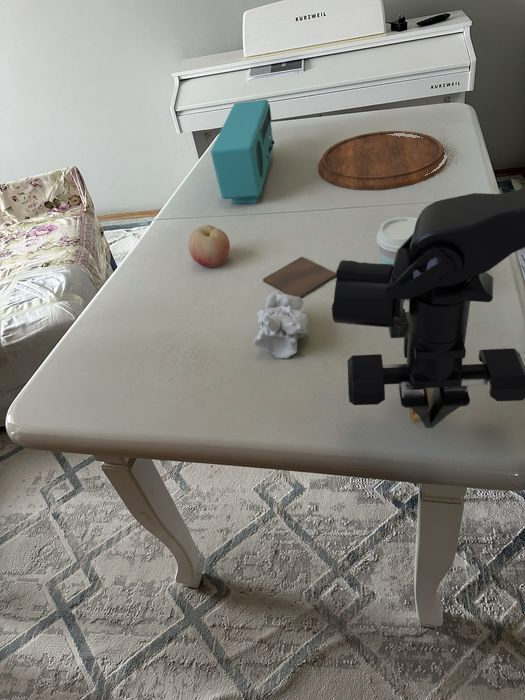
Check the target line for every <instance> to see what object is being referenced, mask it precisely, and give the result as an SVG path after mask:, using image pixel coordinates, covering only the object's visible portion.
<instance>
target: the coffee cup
mask: <svg viewBox="0 0 525 700" xmlns="http://www.w3.org/2000/svg"><path fill="white" fill-rule="evenodd" d="M417 219H418V217H413V216H398V217H393V218H390V219H388V220H386V221H384V222H382V224H381V225H380V226H379V230H378V231H377V234H376V239H375V241H376V245H378V250H379V256H380V257H379V258H380V264H393V265H394V261H395V257H396V254H397V250H398V249H399V248H400V247H401V246H402V245H403V244H404V243H405V242H406V241H407V240H408V238H409V237H410V236H411V235H412V234H413V233H414V229H415V224H416V221H417Z"/></svg>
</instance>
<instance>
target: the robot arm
mask: <svg viewBox="0 0 525 700" xmlns="http://www.w3.org/2000/svg"><path fill="white" fill-rule="evenodd" d="M417 218H418V219H417V221H416V224H415V229H414V233H413V234H412V235H411V236H410V237H409V238H408V240H407V241H406V242H405V243H404V244H403V245H402V246H401V247H400V248H399V249H398V250H397V254H396V257H395V261H394V265H393V264H381V263H376V262H373V263H372V262H359V261H355V260H347V259H342V260H340V261H339V263H338V265H337V268H336V271H335V273H336V277H335V278H336V280H335V286H334V295H333V303H332V305H331V314H332V320H333V322H334V323H335V324H342V325H354V326H364V327H377V328H378V327H379V328H388V330H389V331H388V333H389V337H390V339H403V356H404V359H406V363H394V364H393V363H392V364H391V363H390V364H383V354H382V353H381V354H380V353H379V354H378V353H377V354H376V353H375V354H355V355H354V354H353V355H351V356H350V357H349V358H348V359H347V387H348V390H347V391H348V402H349V403H351V404H352V405H353V406H366V405H367V406H374V405H377V406H378V405H379V404H381V403H382V402H384V401H385V400H386V387H385V385H398V392H399V400H400V405H401V407H403V408H406V409H410V408H411V409H412V410H413V411H414V412H415V413H416V414H417V415H418V416H419V417H420V419H421V420H422V421H421V422H422V424H423V426H424V427H425V429H434V428H435V427H436V426H437V425H438V424H440V423H441V421H443V420H444V419H445V418H446V417H447V416H449V415H451V413H453V412H455V411H456V410H458V409H459V408H461V407H467V406H469V405H470V403H471V398H470V395H469V390H468V387H470V386H488V383H489V386H490V387H489V392H488V393H489V396H490V398H492V399H493V400H495V401H496V402H516V401H517V402H518V401H519V402H521V401H525V364H524V361H523V359H522V356H521V353H520V352H519V351H517V349H516V348H514V347H513V348H511V347H509V348H492V349H490V348H489V349H479V351H478V360H479V362H480V363H473V364H472V363H470V364H469V363H468V364H465V360H464V359H465V358H466V354H467V353H466V352H467V349H466V336H467V329H468V322H469V316H470V307H471V302H477V303H479V302H480V303H490V302H492V301H493V299H494V277H493V276H492V275H491V274H490V273H488V271H490V270H492V269H493V268H495V267H496V266H497V265H499V264H500V263H501V262H503V261H504V260H505V259H506V258H508V257H510V256H511V255H513V254H514V253H516V252H518V251H520V250H522V249H525V187H522V188H519V189H516V190H512V191H508V192H503V193H484V192H482V193H481V192H480V193H479V192H473V193H468V194H464V195H458V196H454V197H449V198H445V199H440V200H436V201H434V202H432V203H430V204H428V205H427V206H425V207H424V208H423V209H422V210H421V212H420V214H419V216H418V217H417ZM405 300H409V301H408V311H406V309H405V308H404V303H405ZM426 388H428V389H433V390H432V395H431V398H430V402H429V403H428V398H427V392H426ZM429 404H430V408H429Z"/></svg>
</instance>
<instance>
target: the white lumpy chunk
mask: <svg viewBox="0 0 525 700" xmlns="http://www.w3.org/2000/svg"><path fill="white" fill-rule="evenodd" d="M303 306H304V299H302V298H300V297H295V296H292V295H287V294H285V293H283V292H281V291H273V292H271V293H270V294H269V295H268V296H267V297H266V299H265V308H263V309H261V310H259V311H257V313H256V318H257V324H259V326H258V328H259V330H258V333H257V334H256V336H255V337H254V338H253V341H252V343H253V345H254V347H255V349H256V350H257V351H259V352H263V353H269V354H271V355H273V356H274V357H275V358H276V359H280V360H281V359H282V360H283V359H286V360H287V359H289V358H290V357H292V356H294V355H295V354H296V353H297V352H298V339H300V338H306V337H307V335H308V322H309V317H308V314H306V313H304V312H303V311H302V310H301V308H303Z"/></svg>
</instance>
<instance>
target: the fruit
mask: <svg viewBox="0 0 525 700" xmlns="http://www.w3.org/2000/svg"><path fill="white" fill-rule="evenodd" d="M187 246H188V252H189V254H190V257H191V258H192V259H193V261H195V262H196V263H197V264H198V265H200V266H202V267H206V268H217V267H220V266H221V265H222V264H223V263H225V262H226V260H227V258H228V257H229V254H230V250H231V243H230V239H229V236H228V235H227V233H226V232H225V231H223V230H222V229H220V228H217V227H215V226H214V225H210V224H204V225H201V226H198V227H196V228H195V229H194V230H193V231H191V233H190V235H189V238H188V245H187Z"/></svg>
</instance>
